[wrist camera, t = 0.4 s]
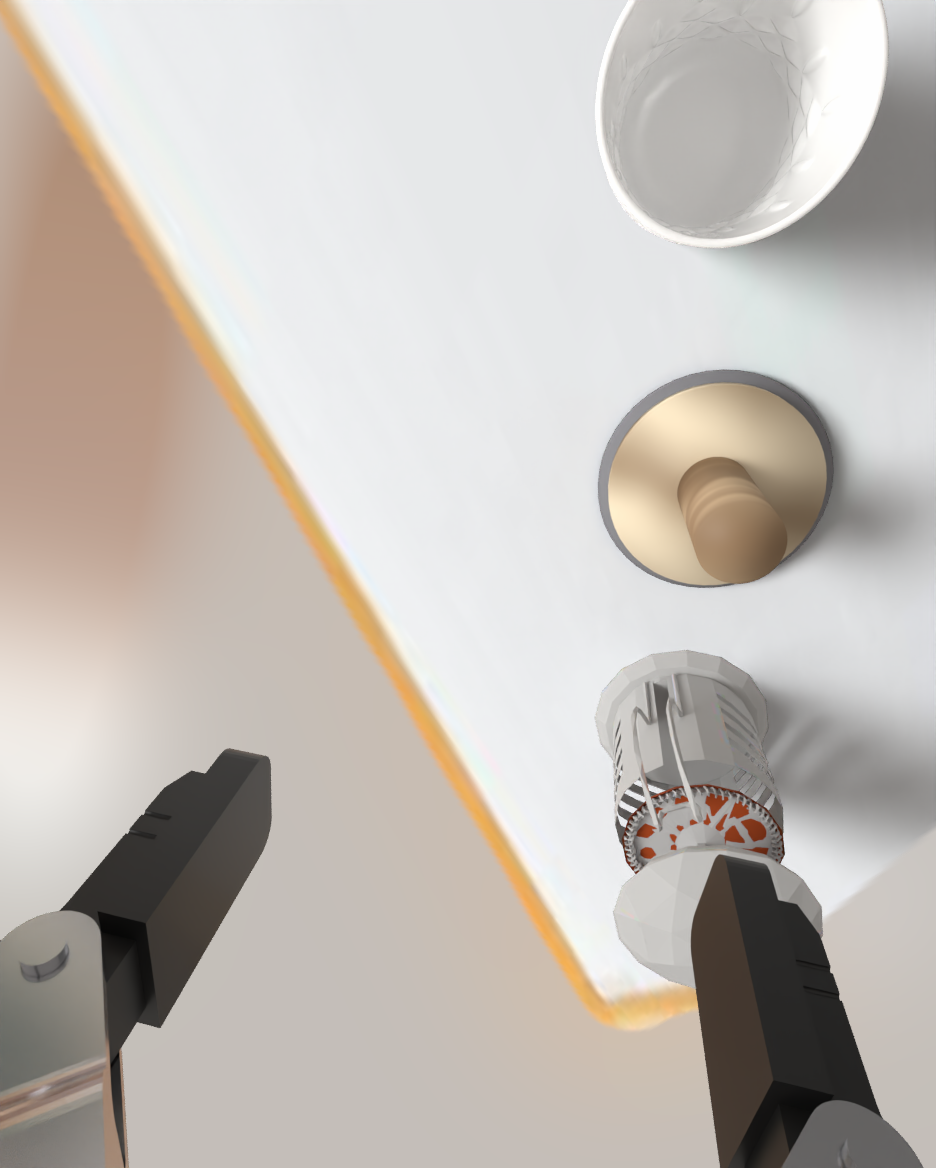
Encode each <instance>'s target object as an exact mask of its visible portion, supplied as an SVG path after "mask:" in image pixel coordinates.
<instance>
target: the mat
mask: <svg viewBox="0 0 936 1168" xmlns="http://www.w3.org/2000/svg"><path fill="white" fill-rule="evenodd" d="M718 382H731V383H742V384H747V385H752V386H755V387H758V388H761V389H764V390H767V391H769V392H771V393H773V394H775V395H777V396H779V397H780V398H782V399H783V400H785V401H786V402H787V403H789V404H790V405H792V406H793V407H794V408H795V409H796V410H798V411H799V412H800V413H801V414H802V415H803V416H804V417H805V418H806V420H807V421H808V422H809V424H810V425H811V426H812V428H813V429H814V431H815V433H816V435H817V437H818V438H819V441H820V443H821V446H822V449H823V452H824V457H825V462H826V473H827V481H826V490H825V495H824V499H823V503H822V507H821V509H820V512H819V514H818V517H817V519H816V521H815V522H814V524H813V526H812V528H811V529H810V531H809V532H808V534H807V535H806V536H805V538H804V539H803V540H802V542H801V543H800V544H799V545H798V546H797V547H796V548H795V549H794V550H793V551H792V552H791V553H790V554H789V555H788V556H786V557H785V558H784V559H783V560H782V561H780V563H779V564H781V563H782V562H784V561H785V560H786V559H787V558H788V557H790V556H791V555H792V554H793V553H794V552H796V551H797V550H798V548H799V547H800V546H801V545H802V544H803V543H804V542H805V541H806V540H807V539H808V537H809V536H810V535H811V533H812V532H813V531H814V529H815V528H816V526H817V524H818V522H819V521H820V519H821V517H822V515H823V513H824V510H825V508H826V505H827V503H828V499H829V496H830V492H831V488H832V479H833V457H832V452H831V447H830V443H829V440H828V437H827V434H826V431H825V429H824V427H823V425H822V424H821V422H820V420H819V418H818V417H817V415H816V414H815V413H814V411H813V410H812V409H811V407H810V406H809V405H808V404H807V403H806V402H805V401H804V400H803V399H802V398H801V397H800V396H798V395H797V394H796V393H794V392H793V391H791V390H790V389H789V388H787V387H786V386H784V385H782V384H780V383H778V382H776V381H774V380H772V379H770V378H768V377H764V376H761V375H758V374H755V373H750V372H745V371H739V370H713V371H705V372H700V373H695V374H691V375H688V376H685V377H682V378H679V379H676V380H674V381H672V382H670V383H668V384H666V385H664V386H662V387H660V388H658V389H657V390H655V391H654V392H652V393H651V394H649V395H647V396H646V397H645V398H644V399H643V400H641V401H640V402H639V403H638V404H637V405H635V406H634V407H633V408H632V410H631V411H630V412H629V413H628V414H627V415H626V416H625V417H624V418H623V420H622V421H621V423H620V424H619V425H618V427H617V428H616V429H615V431H614V433H613V435H612V437H611V438H610V440H609V442H608V444H607V447H606V450H605V452H604V455H603V458H602V462H601V466H600V471H599V480H598V498H599V505H600V511H601V515H602V518H603V521H604V524H605V526H606V528H607V531H608V533H609V535H610V537H611V538H612V540H613V541H614V543H615V544H616V546H617V547H618V548H619V550H620V551H621V552H622V553H623V554H624V555H625V556H626V557H627V558H628V559H629V560H630V561H631V562H632V563H634V564H635V565H636V566H637V567H639V568H640V569H642V570H643V571H645V572H646V573H648V574H650V575H652V576H654V577H656V578H659V579H661V580H664V581H667V582H670V583H673V584H677V585H682V586H688V587H699V588H706V587H721V586H728V585H733V584H734V583H728V584H721V585H694V584H687V583H682V582H678V581H675V580H672V579H669V578H666V577H664V576H662V575H659V574H657V573H655V572H653V571H652V570H650V569H649V568H647V567H646V566H644V565H643V564H642V563H641V562H640V561H638V560H637V559H636V558H635V557H634V556H633V555H632V554H631V553H630V552H629V550H628V549H627V548H626V547H625V545H624V544H623V542H622V541H621V539H620V538H619V536H618V533H617V531H616V529H615V527H614V524H613V521H612V518H611V514H610V508H609V499H608V483H609V474H610V470H611V466H612V462H613V459H614V456H615V454H616V451H617V449H618V447H619V445H620V443H621V441H622V440H623V438H624V436H625V435H626V433H627V432H628V431H629V429H630V428H631V427H632V425H633V424H634V423H635V422H636V421H637V420H638V419H639V418H640V417H641V416H642V415H643V414H644V413H645V412H646V411H648V410H649V409H650V408H651V407H652V406H654V405H655V404H657V403H658V402H660V401H662V400H663V399H665V398H666V397H668V396H670V395H672V394H675V393H677V392H679V391H681V390H684V389H687V388H690V387H693V386H698V385H702V384H707V383H718ZM779 564H778V565H779Z"/></svg>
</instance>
